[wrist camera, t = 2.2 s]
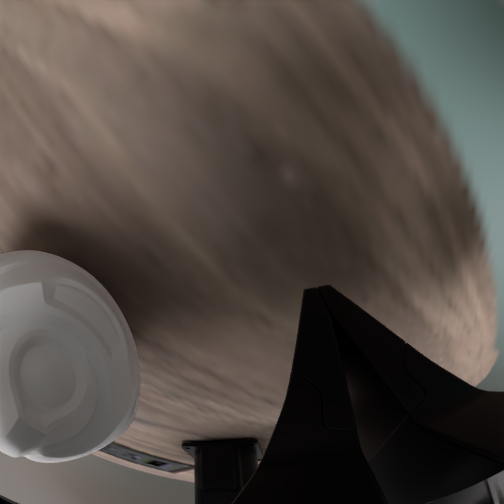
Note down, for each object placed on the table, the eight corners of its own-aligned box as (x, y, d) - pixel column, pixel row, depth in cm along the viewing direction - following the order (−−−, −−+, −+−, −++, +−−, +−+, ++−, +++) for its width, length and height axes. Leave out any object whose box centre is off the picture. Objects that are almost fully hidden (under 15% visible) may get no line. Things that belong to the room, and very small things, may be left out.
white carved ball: (187, 320, 12) (175, 506, 5) (90, 365, 13) (62, 486, 7) (53, 172, 8) (-108, 328, 1) (-12, 269, 9) (-85, 382, 3)
